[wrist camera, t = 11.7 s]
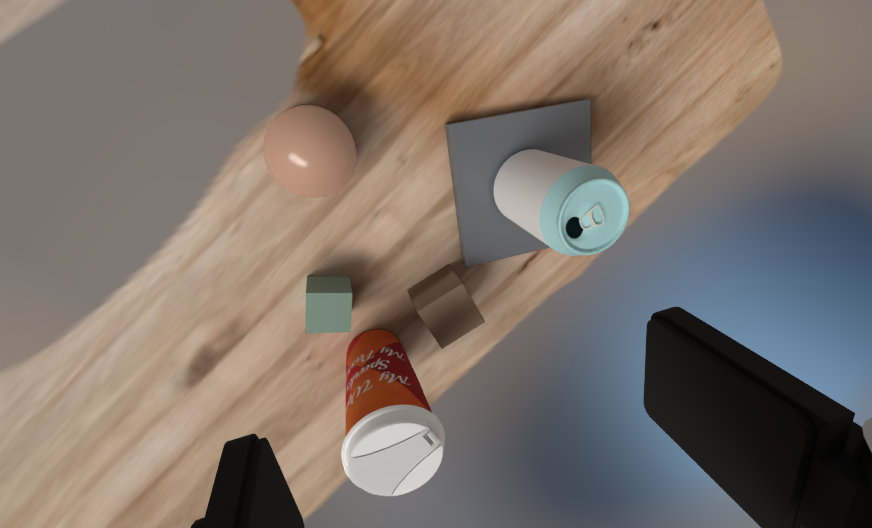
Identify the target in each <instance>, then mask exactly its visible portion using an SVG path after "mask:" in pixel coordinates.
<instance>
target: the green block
mask: <svg viewBox="0 0 872 528" xmlns="http://www.w3.org/2000/svg"><path fill="white" fill-rule="evenodd" d="M351 311H352V288H351V282H350V276H307V287H306V333H330V332H350V331H351Z"/></svg>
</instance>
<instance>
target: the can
mask: <svg viewBox="0 0 872 528" xmlns="http://www.w3.org/2000/svg"><path fill="white" fill-rule="evenodd" d="M494 199H495V202H496V205H497V207H498V209H499V210H500V212H501V213H502V214H503V215H504V216H505V217H507V218H508V219H510V220H511V221H513V222H514V223H516V224H517V225H519V226H520V227H521V228H523V229H524V230H526V231H527V232H529V233H530V234H532V235H533V236H535V237H536V238H538V239H539V240H541V241H542V242H544V243H545V244H546V245H548V246H549V247H551V248H552V249H554V250H555V251H557V252H559V253H561V254H565V255H572V256H577V255H592V254H596V253H599V252H602V251H604V250H605V249H607V248H608V247H610V246H611V245H612V244H613V243H615V241H616V240H617V239H618V238H619V237H620V235H621V234H622V232H623V231H624V229H625V227H626V224H627V222H628V218H629V212H630V204H629V199H628V196H627V193H626V191H625V190H624V189H623V187H622V186H621V185H620V183H619V181H618V180H617V178H616V177H615V176H614V175H613V174H612V173H611V172H609V171H608V170H606V169H605V168H602V167H599V166H595V165H592V164H588V163H584V162H581V161H577V160H573V159H570V158H566V157H562V156H559V155H555V154H551V153H548V152H544V151H540V150H535V149H529V150H524V151H520V152H518V153H516V154H514V155H513V156H511V157H510V158H509V159H508V160H507V161H506V162H505V163H504V164H503V165H502V166H501V168H500V170H499V171H498V173H497V176H496V179H495V183H494Z"/></svg>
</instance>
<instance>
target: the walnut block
mask: <svg viewBox="0 0 872 528" xmlns="http://www.w3.org/2000/svg"><path fill="white" fill-rule="evenodd" d="M408 293H409V295H410V297H411V299H412V302H413V304H414V306H415V309H416V311H417V313H418V314H419V316H420V317H421V319H422V320H423V321H424V323H425V324H426V326H427V327H428V329H429V330H430V332H431V333H432V335H433V336H434V338H435V339H436V341H437V342H438V344H439V345H440V346H441V348H444V347H445V346H447V345H449V344H450V343H452V342H453V341H455V340H457V339H458V338H460V337H461V336H463V335H465V334H466V333H468V332H469V331H471V330H473V329H474V328H476V327H477V326H479V325H480V324H482V323H484V322H485V320H484V319H483V317H482V315H481V314H480V312H479V310H478V309H477V307H476V305H475V304H474V302H473V300H472V298H471V297H470V295H469V293H468V292H467V290H466V288H465V287H464V285H463V283H462V282H461V281H460V279H459V278H458V277H457V275H456V274H455V273H454V271H453V270H452V269H451V267H450V266H449V265H446V266H445V267H443V268H442V269H440V270H438V271H437V272H435V273H434V274H432V275H430V276H429V277H427V278H426V279H424V280H422V281H421V282H419V283H418V284H416V285H414V286H413V287H411V288H410V289H408Z"/></svg>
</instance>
